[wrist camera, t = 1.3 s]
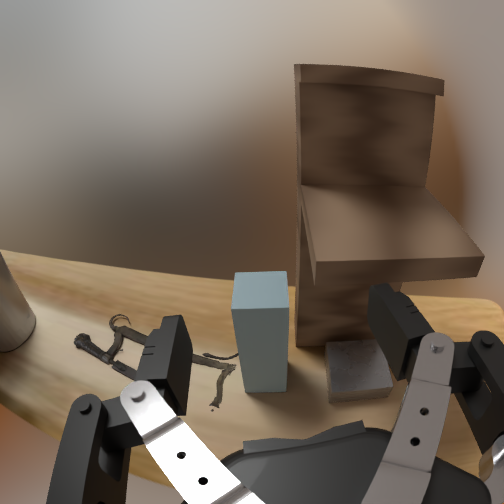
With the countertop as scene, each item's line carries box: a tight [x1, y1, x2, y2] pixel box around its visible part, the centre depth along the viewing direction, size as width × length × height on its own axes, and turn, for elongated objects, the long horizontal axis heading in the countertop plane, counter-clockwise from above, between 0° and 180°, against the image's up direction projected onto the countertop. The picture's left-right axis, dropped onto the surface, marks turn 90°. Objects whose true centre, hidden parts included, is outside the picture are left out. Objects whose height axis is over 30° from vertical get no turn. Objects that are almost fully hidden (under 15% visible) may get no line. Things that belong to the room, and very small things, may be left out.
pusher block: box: [231, 271, 289, 392], centre depth 26 cm, size 4×4×12 cm
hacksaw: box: [74, 314, 239, 411], centre depth 33 cm, size 24×10×2 cm, turn 67°
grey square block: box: [324, 339, 393, 403], centre depth 28 cm, size 6×6×2 cm
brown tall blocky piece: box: [294, 64, 485, 347], centre depth 22 cm, size 10×13×27 cm
